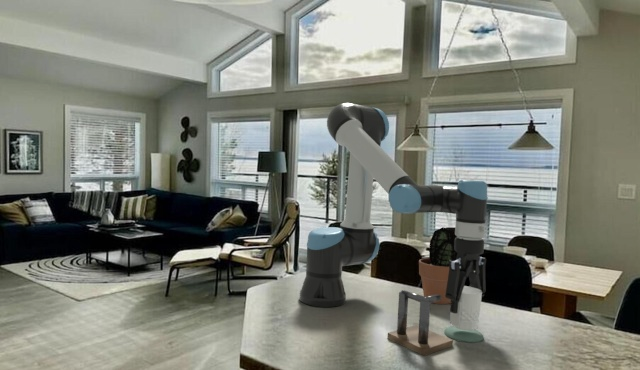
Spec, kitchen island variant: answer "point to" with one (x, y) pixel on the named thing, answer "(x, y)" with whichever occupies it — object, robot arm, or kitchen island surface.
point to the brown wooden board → (411, 342)
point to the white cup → (470, 308)
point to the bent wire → (422, 318)
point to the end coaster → (463, 334)
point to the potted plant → (437, 265)
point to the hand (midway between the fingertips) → (464, 321)
